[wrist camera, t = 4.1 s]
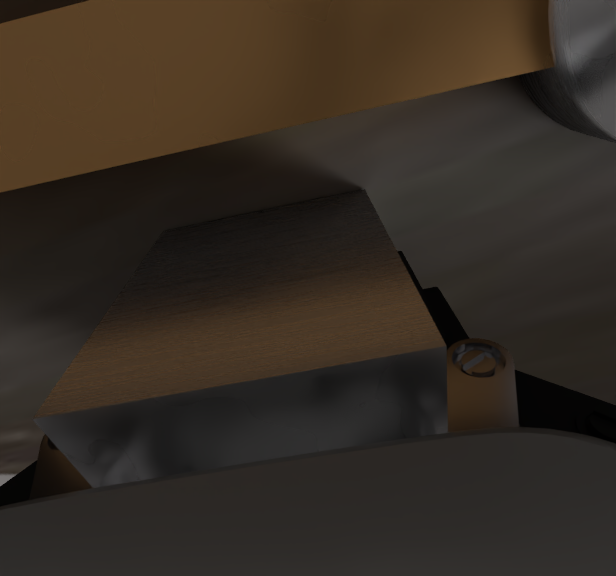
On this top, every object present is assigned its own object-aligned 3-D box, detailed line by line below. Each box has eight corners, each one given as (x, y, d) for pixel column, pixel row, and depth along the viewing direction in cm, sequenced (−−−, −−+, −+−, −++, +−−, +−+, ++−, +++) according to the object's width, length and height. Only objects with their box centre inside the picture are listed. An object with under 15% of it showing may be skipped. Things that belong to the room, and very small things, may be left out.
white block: (364, 189, 11) (445, 345, 5) (384, 347, 15) (449, 554, 9) (162, 231, 12) (31, 418, 6) (226, 375, 15) (184, 590, 9)
